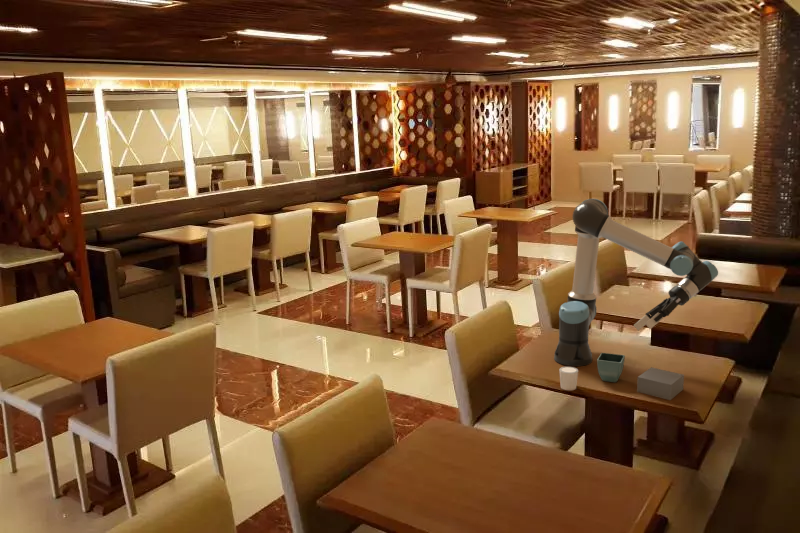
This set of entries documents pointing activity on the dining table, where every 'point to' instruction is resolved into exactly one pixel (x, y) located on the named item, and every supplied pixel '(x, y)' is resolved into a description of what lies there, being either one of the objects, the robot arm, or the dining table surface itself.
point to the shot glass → (568, 378)
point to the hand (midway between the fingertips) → (641, 327)
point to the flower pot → (610, 366)
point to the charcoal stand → (660, 383)
